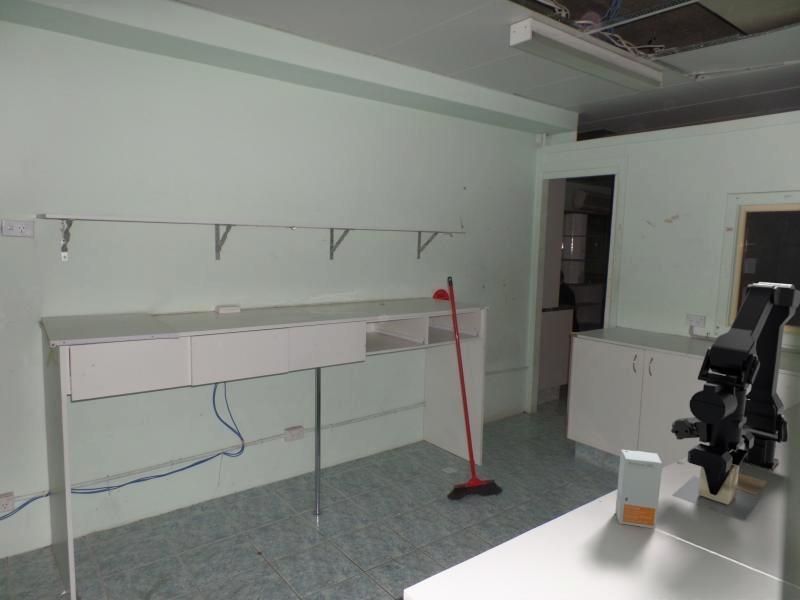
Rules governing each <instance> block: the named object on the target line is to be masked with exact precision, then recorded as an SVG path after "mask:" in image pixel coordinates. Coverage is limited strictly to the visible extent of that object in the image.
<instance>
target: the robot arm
mask: <svg viewBox="0 0 800 600" xmlns="http://www.w3.org/2000/svg"><path fill="white" fill-rule="evenodd" d="M799 305H800V290H798V289H797V288H796V287H795V285H794V284H789V283H788V284H787V283H775V282H765V281H764V282H763V281H762V282H761V281H759V282H758V283H752V284H748V285H747V288H746V290H745V298H744V300H743V302H742V304H741V306H740V308H739V310H738V312H737V313H736V316H735V318H734V320H733V322H732V323H731V326H730V328H729V329H728V331H727V332H725V333H723V334H721V335H719V336H717V337H716V339H714V341H713V343H712V345H711V346H710V347H708V348H707V350H706V352H705V355H704V358H703V362H702V364H701V367H700V369H699V373H698V375H697V381H702V382H705V383H704V384H703V389H701V390H699V391H697V392H696V393H694V394H693V395H692V396H691V397H690V400H689V405H688V406H689V409H690V412H691V414H692V415H693V416H694V417H693V416H692V417H682V418H677V419H676V420H674V422H672V424H671V430H670V432H671V434H674V435H675V438H676V439H677V440H679V441H680V440H681V441H682V440H685V439H697V438H699V439H698V440H699V442H701V443H699V444H697V445H695V446H694V447H692V448H691V449H690V450H688V451H687V462H688V463H689V464H692V465H694V466H699V467H700V468H701V467H703V468H704V471H705V475H706V479H707V483H708V488H709V492H710V494H712V495H717V494H718V492H719V491H720V489H721V487H722V486H723V484H724V482H725V481H726V479H727V477H728V476H729V474H730V473H731V471H732V469H733V468H734V465H738V466H739V467H740V465H741V464H742V462H743V463H746V464H749V465H751V466H752V465H753V466H756V467H760V468H763V469H767V470H770V469H771V470H770V471H773V469H775V467H776V465H778V464H779V462H780V459H778V458H775V456H776V448H777V443H779V444H782V443H788V441H789V433H790V431H789V423H788V421H787V417H786V415H785V414H784V407H785V406H784V403H783V401H782V399H781V397H780V396H779V393H777V389H778V388H777V387H778V380H779V379H778V378H779V371H780V365H781V364H780V362H781V356H782V355H781V354H782V347H783V346H782V345H783V337H784V329H785V325H786V324H787V323H788V322H789V321H790V320H791V318H793V316H794V315H795V314H796V309H797V308H798V307H799ZM710 371H711V372H710ZM750 385H751V386H750ZM749 387H750V391H749V392H748V393H747V389H748V388H749ZM704 443H705V444H704ZM741 446H743V449H742V448H741ZM731 464H734V465H731Z"/></svg>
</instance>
